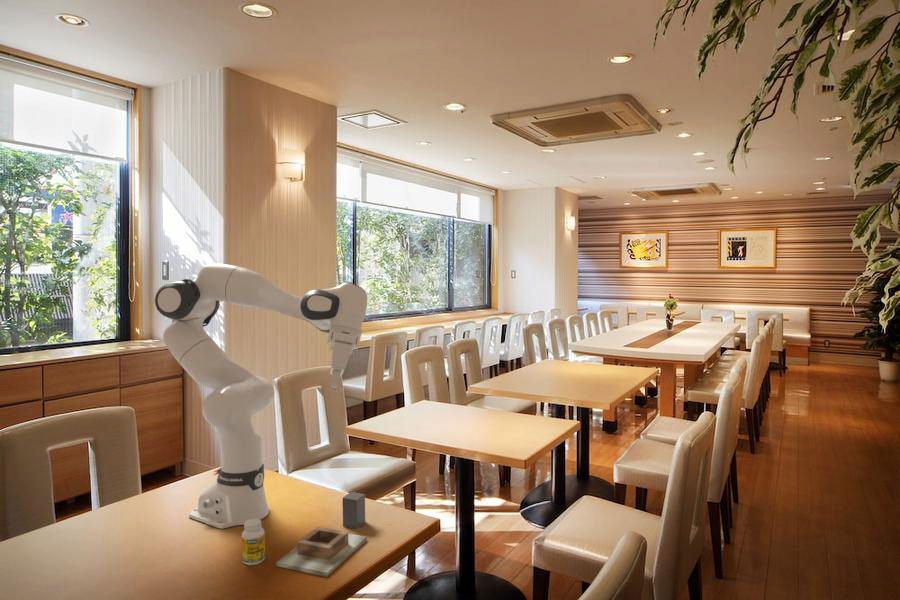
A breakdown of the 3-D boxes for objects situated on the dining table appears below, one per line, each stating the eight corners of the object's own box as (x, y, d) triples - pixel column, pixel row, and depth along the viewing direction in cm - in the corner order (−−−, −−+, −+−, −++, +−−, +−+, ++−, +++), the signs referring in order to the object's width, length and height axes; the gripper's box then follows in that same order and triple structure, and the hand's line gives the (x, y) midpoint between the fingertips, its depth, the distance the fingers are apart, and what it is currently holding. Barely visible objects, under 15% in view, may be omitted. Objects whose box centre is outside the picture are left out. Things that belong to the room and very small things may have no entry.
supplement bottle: (262, 552, 145) (261, 515, 145) (268, 561, 141) (267, 523, 140) (239, 558, 142) (238, 520, 142) (245, 568, 138) (244, 528, 137)
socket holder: (276, 566, 139) (276, 549, 139) (320, 532, 157) (320, 517, 156) (326, 576, 134) (326, 560, 134) (366, 540, 152) (366, 525, 151)
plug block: (342, 526, 160) (342, 497, 160) (351, 519, 164) (350, 491, 164) (357, 528, 159) (356, 500, 158) (365, 521, 163) (364, 494, 162)
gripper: (331, 343, 172) (321, 389, 168) (333, 332, 152) (321, 384, 149) (352, 347, 173) (343, 393, 169) (357, 336, 153) (346, 388, 150)
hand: (333, 389), depth 159 cm, fingers open, 8 cm apart
